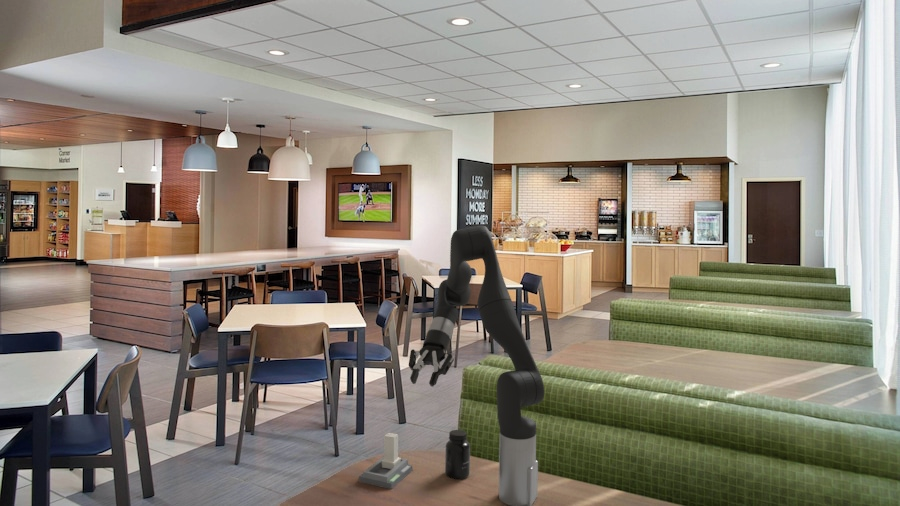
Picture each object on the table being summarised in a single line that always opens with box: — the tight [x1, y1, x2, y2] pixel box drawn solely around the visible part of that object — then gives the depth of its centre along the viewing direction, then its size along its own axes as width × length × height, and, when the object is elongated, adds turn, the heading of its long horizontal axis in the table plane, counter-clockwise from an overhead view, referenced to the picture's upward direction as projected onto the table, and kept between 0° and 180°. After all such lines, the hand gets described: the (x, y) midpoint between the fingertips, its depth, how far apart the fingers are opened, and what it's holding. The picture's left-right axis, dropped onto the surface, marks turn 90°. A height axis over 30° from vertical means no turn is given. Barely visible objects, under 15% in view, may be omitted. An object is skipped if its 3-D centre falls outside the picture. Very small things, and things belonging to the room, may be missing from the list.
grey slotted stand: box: [358, 455, 413, 490], centre depth 168 cm, size 10×12×3 cm
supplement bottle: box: [444, 429, 471, 480], centre depth 168 cm, size 7×7×12 cm
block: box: [382, 432, 402, 469], centre depth 170 cm, size 4×4×9 cm
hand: (422, 383), depth 178 cm, fingers open, 5 cm apart
